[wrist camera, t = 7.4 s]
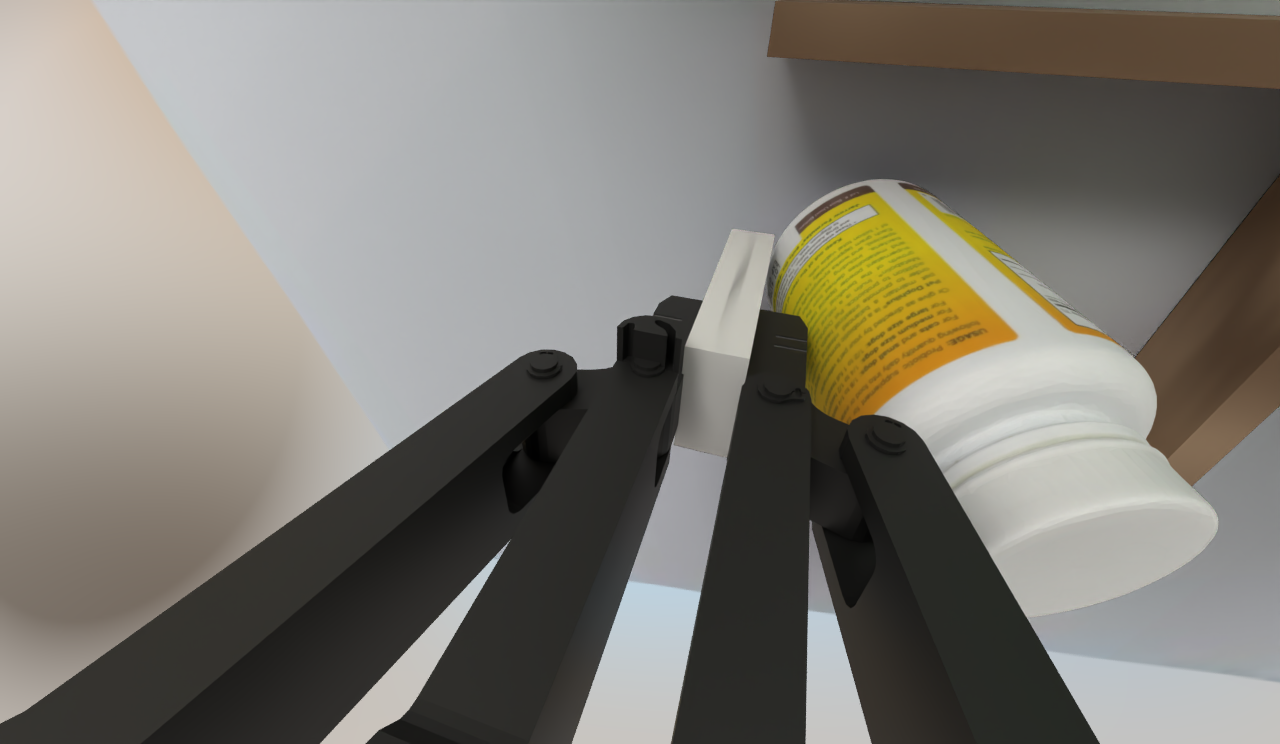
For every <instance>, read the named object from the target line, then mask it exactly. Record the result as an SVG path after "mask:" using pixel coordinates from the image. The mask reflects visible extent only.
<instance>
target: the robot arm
mask: <svg viewBox="0 0 1280 744" xmlns="http://www.w3.org/2000/svg"><path fill="white" fill-rule="evenodd" d="M774 237H775V235H773V234H766V233H759V232H753V231H746V230H739V229H732V230H731V233H730V235H729V238H728V240H727V243H726V245H725V248H724V250H723V253H722V255H721V258H720V260H719V263H718V265H717V268H716V270H715V273H714V275H713V278H712V280H711V283H710V285H709V287H708V290H707V292H706V295H705V297H704V300H703V301H701V300H695V299H690V298H684V297H678V296H670V297H669V298H667V299H665V300H664V301H662V302H661V303H659V305H658V307H657V309H656V310H655V312H654V315H653V316H647V315H645V316H637V317H632V318H630V319H627V320H624V321H623V322H622V323H621V324H620V325H618V326H617V361H616V363H615V364H614V366H613V367H611V368H607V369H597V370H577V364H576V362H575V360H574V359H573V357H571V356H570V355H568V354H566V353H565V352H561V351H557V350H538V351H534V352H529V353H527V354H525V355H523V356H521V357H520V358H518V359H517V360H515V361H514V362H513V363H511V364H510V365H508V366H507V367H506V368H504V369H503V370H501V371H500V372H499V373H497V374H496V375H494V376H493V377H492V378H490V379H489V380H487V381H486V382H485V383H483V384H482V385H480V386H479V387H478V388H476V389H475V390H473V391H472V392H471V393H469V394H468V395H466V396H465V397H464V398H462V399H461V400H459V401H458V402H457V403H455V404H454V405H452V406H451V407H450V408H448V409H447V410H445V411H444V412H443V413H441V414H440V415H438V416H437V417H436V418H434V419H433V420H431V421H430V422H429V423H427V424H426V425H424V426H423V427H422V428H420V429H419V430H417V431H416V432H415V433H413V434H412V435H410V436H409V437H408V438H406V439H405V440H403V441H402V442H401V443H399V444H398V445H396V446H395V447H394V448H392V449H391V450H389V451H388V452H387V453H385V454H384V455H383V456H381V457H380V458H378V459H377V460H376V461H375V462H373V463H371V464H370V465H368V466H367V467H366V468H364V469H363V470H362V471H360V472H359V473H357V474H356V475H355V476H353V477H352V478H350V479H349V480H348V481H346V482H345V483H343V484H342V485H341V486H340V487H338V488H336V489H335V490H334V491H332V492H331V493H329V494H328V495H327V496H325V497H324V498H322V499H321V500H320V501H318V502H317V503H315V504H314V505H313V506H311V507H310V508H309V509H307V510H306V511H304V512H303V513H301V514H300V515H299V516H297V517H296V518H294V519H293V520H292V521H290V522H289V523H287V524H286V525H285V526H284V527H282V528H281V529H279V530H278V531H276V532H275V533H273V534H272V535H271V536H269V537H268V538H266V539H265V540H264V541H262V542H261V543H260V544H258V545H257V546H255V547H254V548H252V549H251V550H250V551H248V552H247V553H245V554H244V555H243V556H241V557H240V558H238V559H237V560H236V561H234V562H233V563H232V564H230V565H229V566H227V567H226V568H225V569H223V570H222V571H220V572H219V573H217V574H216V575H215V576H213V577H212V578H210V579H209V580H208V581H207V582H205V583H203V584H202V585H201V586H200V587H198V588H196V589H195V590H194V591H192V592H191V593H190V594H188V595H187V596H185V597H184V598H182V599H181V600H180V601H178V602H177V603H176V604H174V605H173V606H171V607H170V608H169V609H167V610H166V611H164V612H163V613H162V614H160V615H159V616H157V617H156V618H155V619H153V620H152V621H151V622H149V623H148V624H146V625H145V626H143V627H142V628H141V629H139V630H138V631H136V632H135V633H134V634H132V635H131V636H129V637H128V638H127V639H125V640H124V641H122V642H121V643H120V644H118V645H117V646H115V647H114V648H113V649H111V650H110V651H108V652H107V653H106V654H104V655H103V656H101V657H100V658H99V659H97V660H96V661H95V662H93V663H92V664H90V665H89V666H87V667H86V668H85V669H83V670H82V671H81V672H79V673H78V674H76V675H75V676H73V677H72V678H71V679H69V680H68V681H66V682H65V683H64V684H62V685H61V686H59V687H58V688H57V689H55V690H54V691H52V692H51V693H50V694H48V695H47V696H45V697H44V698H43V699H41V700H40V701H39V702H37V703H36V704H34V705H33V706H31V707H30V708H29V709H27V710H26V711H24V712H23V713H21V714H19V715H17V716H15V717H13V718H11V719H9V720H7V721H5V722H3V723H1V724H0V744H320V743H321V742H322V741H323V740H324V738H325V737H326V736H327V735H328V734H329V733H330V732H331V731H332V730H333V729H334V728H335V727H336V726H337V725H338V723H339V722H340V721H341V720H342V719H343V718H344V717H345V716H346V715H347V714H348V713H349V712H350V711H351V710H352V709H353V707H354V706H355V705H356V704H357V703H358V702H359V701H360V700H361V699H362V698H363V697H364V696H365V695H366V694H367V692H368V691H369V690H370V689H371V688H372V687H373V686H374V685H375V684H376V683H377V682H378V681H379V680H380V679H381V678H382V676H383V675H384V674H385V673H386V672H387V671H388V670H389V669H390V668H391V667H392V666H393V665H394V663H396V661H397V660H398V659H399V658H400V657H401V656H402V655H403V654H404V653H405V652H406V651H407V650H408V648H410V646H411V645H412V644H413V643H414V642H415V641H416V640H417V639H418V638H419V637H420V636H421V635H422V634H423V633H424V632H425V630H426V629H427V628H428V627H429V626H430V625H431V624H432V623H433V622H434V621H435V620H436V619H437V618H438V617H439V615H440V614H441V613H442V612H443V611H444V610H445V609H446V608H447V607H448V606H449V605H450V604H451V602H452V601H453V600H454V599H455V598H456V597H457V596H458V595H459V594H460V593H461V592H462V591H463V590H464V589H465V588H466V587H467V585H468V584H469V583H470V582H471V581H472V580H473V579H474V578H475V577H476V576H477V575H478V574H479V573H480V572H481V571H482V569H483V568H484V567H485V566H486V565H487V564H488V563H489V562H490V561H491V560H492V559H493V558H494V557H495V556H496V554H497V553H498V552H499V551H500V550H501V549H502V548H503V547H504V546H505V545H506V544H507V543H508V542H509V541H510V542H509V544H508V545H507V547H506V549H505V550H504V552H503V554H502V555H501V557H500V559H499V560H498V562H497V564H496V566H495V567H494V569H493V571H492V572H491V574H490V576H489V577H488V579H487V581H486V582H485V584H484V586H483V588H482V589H481V591H480V593H479V594H478V596H477V598H476V599H475V601H474V603H473V604H472V606H471V608H470V610H469V611H468V613H467V615H466V616H465V618H464V620H463V621H462V623H461V625H460V626H459V628H458V630H457V632H456V633H455V635H454V637H453V638H452V640H451V642H450V643H449V645H448V647H447V649H446V650H445V652H444V654H443V655H442V657H441V659H440V660H439V662H438V664H437V665H436V667H435V669H434V670H433V672H432V674H431V675H430V677H429V679H428V681H427V682H426V684H425V686H424V687H423V689H422V691H421V692H420V694H419V696H418V697H417V699H416V700H415V702H414V703H413V705H412V706H411V708H410V709H409V710H408V711H407V712H406V713H405V715H403V717H402V718H401V719H399V720H397V721H395V722H394V723H392V724H390V725H388V726H386V727H384V728H382V729H381V730H379V731H378V732H377V733H376V734H375V735H374V736H373V737H372V738H371V739H370V740H369V741H368V742H367V743H366V744H572V741H573V738H574V735H575V732H576V729H577V726H578V723H579V721H580V718H581V715H582V712H583V709H584V706H585V703H586V700H587V698H588V694H589V692H590V689H591V686H592V683H593V680H594V677H595V674H596V672H597V669H598V666H599V663H600V660H601V657H602V654H603V651H604V649H605V646H606V643H607V640H608V637H609V634H610V631H611V628H612V625H613V623H614V620H615V617H616V614H617V611H618V608H619V605H620V602H621V599H622V597H623V594H624V591H625V588H626V585H627V582H628V579H629V576H630V574H631V571H632V568H633V565H634V562H635V559H636V556H637V553H638V551H639V548H640V545H641V542H642V539H643V536H644V533H645V530H646V528H647V525H648V522H649V519H650V516H651V513H652V510H653V507H654V504H655V502H656V499H657V496H658V493H659V490H660V487H661V484H662V481H663V479H664V476H665V473H666V470H667V467H668V464H669V458H670V449H671V444H672V441H673V438H674V436H675V440H674V445H676V446H680V447H684V448H689V449H693V450H696V451H700V452H704V453H709V454H713V455H717V456H722V457H726V458H727V465H726V470H725V475H724V480H723V484H722V489H721V494H720V500H719V505H718V510H717V515H716V520H715V525H714V530H713V535H712V540H711V545H710V550H709V555H708V560H707V565H706V570H705V575H704V580H703V585H702V590H701V596H700V601H699V605H698V610H697V616H696V621H695V626H694V631H693V636H692V641H691V646H690V651H689V656H688V661H687V666H686V671H685V676H684V681H683V686H682V691H681V696H680V701H679V706H678V711H677V716H676V721H675V726H674V731H673V736H672V741H671V744H805V736H806V681H807V680H806V679H807V625H808V623H807V622H808V570H809V519H810V520H811V521H812V530H813V533H814V537H815V541H816V544H817V548H818V552H819V555H820V559H821V562H822V566H823V570H824V573H825V577H826V580H827V584H828V588H829V591H830V595H831V598H832V602H833V606H834V609H835V613H836V616H837V620H838V624H839V627H840V631H841V634H842V638H843V641H844V645H845V649H846V652H847V656H848V659H849V663H850V667H851V671H852V674H853V678H854V681H855V685H856V689H857V692H858V696H859V699H860V703H861V707H862V710H863V713H864V717H865V721H866V725H867V728H868V732H869V735H870V739H871V743H872V744H1100V743H1099V742H1098V740H1097V738H1096V736H1095V735H1094V733H1093V731H1092V730H1091V728H1090V726H1089V724H1088V722H1087V721H1086V719H1085V717H1084V716H1083V714H1082V712H1081V710H1080V709H1079V707H1078V705H1077V704H1076V702H1075V700H1074V698H1073V697H1072V695H1071V693H1070V692H1069V690H1068V688H1067V686H1066V685H1065V683H1064V681H1063V679H1062V678H1061V676H1060V674H1059V673H1058V671H1057V669H1056V667H1055V666H1054V664H1053V662H1052V661H1051V659H1050V657H1049V655H1048V654H1047V652H1046V650H1045V649H1044V647H1043V645H1042V643H1041V642H1040V640H1039V638H1038V636H1037V635H1036V633H1035V631H1034V630H1033V628H1032V626H1031V624H1030V623H1029V621H1028V619H1027V618H1026V616H1025V614H1024V612H1023V611H1022V609H1021V607H1020V606H1019V604H1018V602H1017V600H1016V599H1015V597H1014V595H1013V593H1012V592H1011V590H1010V588H1009V587H1008V585H1007V583H1006V581H1005V580H1004V578H1003V576H1002V575H1001V573H1000V571H999V569H998V568H997V566H996V564H995V563H994V561H993V559H992V557H991V556H990V554H989V552H988V550H987V549H986V547H985V545H984V544H983V542H982V540H981V538H980V537H979V535H978V533H977V532H976V530H975V528H974V526H973V525H972V523H971V521H970V520H969V518H968V516H967V514H966V513H965V511H964V509H963V508H962V506H961V504H960V502H959V501H958V499H957V497H956V495H955V494H954V492H953V490H952V489H951V487H950V485H949V483H948V482H947V480H946V478H945V477H944V475H943V473H942V471H941V470H940V468H939V466H938V465H937V463H936V461H935V459H934V458H933V456H932V454H931V452H930V451H929V449H928V447H927V446H926V444H925V442H924V441H923V440H922V438H921V437H920V436H919V435H918V434H917V433H916V431H914V430H913V429H911V428H910V427H908V426H907V425H905V424H904V423H902V422H900V421H897V420H895V419H892V418H890V417H886V416H880V415H874V414H873V415H861V416H859V417H857V418H855V419H853V420H852V421H851V423H850V424H849V425H848V424H846V423H844V422H841V421H839V420H837V419H834V418H832V417H830V416H828V415H827V414H825V413H823V412H822V411H820V410H819V409H818V408H816V407H815V406H814V405H813V403H812V399H811V396H810V393H809V391H808V389H807V388H806V387H805V385H806V362H807V339H808V327H807V326H806V325H805V323H804V322H803V320H802V319H801V317H800V316H796V315H790V314H784V313H778V312H773V311H767V310H761V309H760V306H761V301H762V296H763V291H764V286H765V281H766V276H767V271H768V267H769V262H770V257H771V252H772V247H773V242H774Z"/></svg>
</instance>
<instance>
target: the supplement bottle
mask: <svg viewBox="0 0 1280 744" xmlns="http://www.w3.org/2000/svg"><path fill="white" fill-rule="evenodd" d="M766 294H767V299H768V302H769V306H770V308H771V311H773V312H778V313H784V314H790V315H796V316H800V317H801V319H802V320H803V322H804V323H805V325H806V326H807V327H808V339H807V362H806V385H805V387H806V388H807V389H808V391H809V393H810V396H811V399H812V403H813V405H814V406H815V407H816V408H818V409H819V410H820V411H822V412H823V413H825V414H827V415H828V416H830V417H832V418H834V419H837V420H839V421H841V422H844V423H846V424H848V425H849V424H850V423H851V421H852V420H853V419H855V418H857V417H859V416H861V415H873V414H874V415H880V416H886V417H890V418H892V419H895V420H897V421H900V422H902V423H904V424H905V425H907V426H908V427H910V428H911V429H913V430H914V431H916V433H917V434H918V435H919V436H920V437H921V438H922V440H923V441H924V442H925V444H926V446H927V447H928V449H929V451H930V452H931V454H932V456H933V458H934V459H935V461H936V463H937V465H938V466H939V468H940V470H941V471H942V473H943V475H944V477H945V478H946V480H947V482H948V483H949V485H950V487H951V489H952V490H953V492H954V494H955V495H956V497H957V499H958V501H959V502H960V504H961V506H962V508H963V509H964V511H965V513H966V514H967V516H968V518H969V520H970V521H971V523H972V525H973V526H974V528H975V530H976V532H977V533H978V535H979V537H980V538H981V540H982V542H983V544H984V545H985V547H986V549H987V550H988V552H989V554H990V556H991V557H992V559H993V561H994V563H995V564H996V566H997V568H998V569H999V571H1000V573H1001V575H1002V576H1003V578H1004V580H1005V581H1006V583H1007V585H1008V587H1009V588H1010V590H1011V592H1012V593H1013V595H1014V597H1015V599H1016V600H1017V602H1018V604H1019V606H1020V607H1021V609H1022V611H1023V612H1024V614H1025V616H1026V617H1037V616H1044V615H1050V614H1055V613H1061V612H1066V611H1070V610H1075V609H1079V608H1083V607H1087V606H1091V605H1094V604H1098V603H1101V602H1104V601H1107V600H1110V599H1114V598H1117V597H1120V596H1122V595H1125V594H1128V593H1130V592H1133V591H1135V590H1137V589H1139V588H1142V587H1144V586H1146V585H1148V584H1151V583H1153V582H1155V581H1157V580H1159V579H1161V578H1163V577H1165V576H1167V575H1169V574H1170V573H1172V572H1174V571H1175V570H1177V569H1179V568H1180V567H1182V566H1183V565H1185V564H1186V563H1188V562H1190V561H1191V560H1192V559H1194V558H1195V557H1196V556H1197V555H1198V554H1200V553H1201V552H1202V551H1203V550H1204V549H1205V547H1206V546H1207V545H1208V544H1209V543H1210V541H1211V540H1212V539H1213V538H1214V537H1215V535H1216V533H1217V530H1218V516H1217V514H1216V512H1215V510H1214V509H1213V508H1212V506H1211V505H1210V504H1209V503H1208V502H1207V501H1206V500H1205V499H1204V498H1203V497H1202V496H1201V495H1200V494H1199V493H1198V492H1197V491H1196V490H1195V489H1193V488H1192V487H1191V486H1190V485H1189V484H1188V483H1187V482H1186V481H1185V480H1184V479H1183V478H1182V477H1181V476H1180V475H1179V474H1178V473H1177V472H1176V471H1175V470H1174V469H1173V468H1172V467H1171V466H1170V464H1169V462H1168V460H1167V459H1166V457H1165V456H1164V455H1163V454H1162V453H1161V452H1160V451H1159V450H1157V449H1156V448H1154V447H1151V446H1150V445H1149V443H1148V442H1147V440H1146V438H1147V436H1148V434H1149V432H1150V430H1151V428H1152V425H1153V422H1154V419H1155V416H1156V409H1157V395H1156V392H1155V388H1154V384H1153V382H1152V380H1151V378H1150V376H1149V375H1148V373H1147V372H1146V370H1145V369H1144V367H1143V366H1142V365H1141V364H1140V363H1139V362H1138V361H1137V360H1136V359H1134V358H1133V357H1132V356H1131V355H1130V354H1129V353H1128V352H1127V351H1126V350H1125V349H1124V348H1122V347H1121V346H1120V345H1119V344H1118V343H1117V342H1115V341H1114V340H1113V339H1111V338H1110V337H1109V336H1108V335H1106V334H1105V333H1104V332H1103V331H1102V330H1100V329H1099V328H1098V327H1097V326H1095V325H1094V324H1093V323H1092V322H1091V321H1090V320H1088V319H1087V318H1086V317H1084V316H1083V315H1082V314H1080V313H1079V312H1078V311H1077V310H1076V309H1074V308H1073V307H1072V306H1071V305H1070V304H1068V303H1067V302H1066V301H1065V300H1063V299H1062V298H1061V297H1060V296H1059V295H1057V294H1056V293H1055V292H1054V291H1052V290H1051V289H1050V288H1049V287H1047V286H1046V285H1045V284H1044V283H1042V282H1041V281H1040V280H1039V279H1038V278H1036V277H1035V276H1034V275H1033V274H1032V273H1030V272H1029V271H1028V270H1026V269H1025V268H1024V267H1023V266H1022V265H1021V264H1019V263H1018V262H1017V261H1015V260H1014V259H1013V258H1012V257H1011V256H1010V255H1008V254H1007V253H1006V252H1004V251H1003V250H1002V249H1001V248H999V247H998V246H997V245H996V244H994V243H993V242H992V241H991V240H989V239H988V238H987V237H986V236H985V235H983V234H982V233H981V232H980V231H979V230H977V229H976V228H975V227H973V226H972V225H971V224H970V223H968V222H967V221H966V220H965V219H963V218H962V217H961V216H960V215H959V214H958V213H956V212H955V211H954V210H952V209H951V208H950V207H948V206H947V205H946V204H945V203H943V202H942V201H941V200H940V199H938V198H937V197H936V196H934V195H933V194H931V193H930V192H928V191H927V190H925V189H923V188H921V187H919V186H917V185H915V184H912V183H909V182H905V181H900V180H893V179H874V180H867V181H861V182H857V183H853V184H850V185H847V186H844V187H842V188H839V189H837V190H835V191H833V192H831V193H829V194H827V195H825V196H823V197H822V198H820V199H818V200H817V201H815V202H814V203H812V204H811V205H810V206H808V207H807V208H806V209H804V210H803V211H802V212H801V213H800V214H799V215H798V216H797V217H796V218H795V219H794V220H793V221H792V222H791V223H790V225H789V226H788V227H787V228H786V230H785V231H784V232H783V234H782V235H781V237H780V238H779V240H778V242H777V244H776V245H775V247H774V250H773V252H772V254H771V257H770V262H769V267H768V271H767V276H766Z"/></svg>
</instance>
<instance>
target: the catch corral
mask: <svg viewBox="0 0 1280 744" xmlns="http://www.w3.org/2000/svg"><path fill="white" fill-rule="evenodd" d="M767 57H780V58H796V59H812V60H828V61H844V62H860V63H876V64H892V65H907V66H923V67H939V68H955V69H971V70H987V71H1003V72H1019V73H1035V74H1051V75H1066V76H1082V77H1098V78H1114V79H1130V80H1146V81H1162V82H1178V83H1194V84H1210V85H1225V86H1241V87H1257V88H1273V89H1280V16H1268V15H1241V14H1213V13H1185V12H1158V11H1130V10H1103V9H1075V8H1047V7H1020V6H992V5H964V4H937V3H909V2H882V1H854V0H778V1H775V7H774V14H773V20H772V27H771V34H770V40H769V47H768V53H767ZM1135 359H1136V360H1137V361H1138V362H1139V363H1140V364H1141V365H1142V366H1143V367H1144V369H1145V370H1146V372H1147V373H1148V375H1149V376H1150V378H1151V380H1152V382H1153V384H1154V388H1155V392H1156V395H1157V409H1156V416H1155V419H1154V422H1153V425H1152V428H1151V430H1150V432H1149V434H1148V436H1147V438H1146V440H1147V442H1148V443H1149V445H1150V446H1151V447H1154V448H1156V449H1157V450H1159V451H1160V452H1161V453H1162V454H1163V455H1164V456H1165V457H1166V459H1167V460H1168V462H1169V464H1170V466H1171V467H1172V468H1173V469H1174V470H1175V471H1176V472H1177V473H1178V474H1179V475H1180V476H1181V477H1182V478H1183V479H1184V480H1185V481H1186V482H1187V483H1188V484H1189V485H1190V486H1191V487H1192V486H1193V485H1194V484H1195V483H1196V482H1197V481H1198V480H1199V479H1200V478H1201V477H1203V476H1204V475H1205V474H1206V473H1207V472H1208V471H1209V470H1210V469H1211V468H1212V467H1213V466H1215V465H1216V464H1217V463H1218V462H1219V461H1220V460H1221V459H1222V458H1223V457H1224V456H1225V455H1227V454H1228V453H1229V452H1230V451H1231V450H1232V449H1233V448H1234V447H1235V446H1236V445H1237V444H1239V443H1240V442H1241V441H1242V440H1243V439H1244V438H1245V437H1246V436H1247V435H1248V434H1249V433H1250V432H1252V431H1253V430H1254V429H1255V428H1256V427H1257V426H1258V425H1259V424H1260V423H1261V422H1262V421H1264V420H1265V419H1266V418H1267V417H1268V416H1269V415H1270V414H1271V413H1272V412H1273V411H1274V410H1276V409H1277V408H1278V407H1279V406H1280V175H1279V177H1278V178H1277V179H1276V180H1275V182H1274V183H1273V184H1272V185H1271V187H1270V188H1269V189H1268V190H1267V192H1266V193H1265V194H1264V196H1263V197H1262V198H1261V199H1260V201H1259V202H1258V203H1257V204H1256V206H1255V207H1254V208H1253V209H1252V211H1251V212H1250V213H1249V215H1248V216H1247V217H1246V218H1245V220H1244V221H1243V222H1242V223H1241V225H1240V226H1239V227H1238V228H1237V230H1236V231H1235V232H1234V234H1233V235H1232V236H1231V237H1230V239H1229V240H1228V241H1227V242H1226V244H1225V245H1224V246H1223V247H1222V249H1221V250H1220V251H1219V253H1218V254H1217V255H1216V256H1215V258H1214V259H1213V260H1212V261H1211V263H1210V264H1209V265H1208V266H1207V268H1206V269H1205V270H1204V272H1203V273H1202V274H1201V275H1200V277H1199V278H1198V279H1197V280H1196V282H1195V283H1194V284H1193V285H1192V287H1191V288H1190V289H1189V291H1188V292H1187V293H1186V294H1185V296H1184V297H1183V298H1182V299H1181V301H1180V302H1179V303H1178V304H1177V306H1176V307H1175V308H1174V310H1173V311H1172V312H1171V313H1170V315H1169V316H1168V317H1167V318H1166V320H1165V321H1164V322H1163V323H1162V325H1161V326H1160V327H1159V329H1158V330H1157V331H1156V332H1155V334H1154V335H1153V336H1152V337H1151V339H1150V340H1149V341H1148V342H1147V344H1146V345H1145V346H1144V348H1143V349H1142V350H1141V351H1140V353H1139V354H1138V355H1137V356H1136V358H1135Z"/></svg>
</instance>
